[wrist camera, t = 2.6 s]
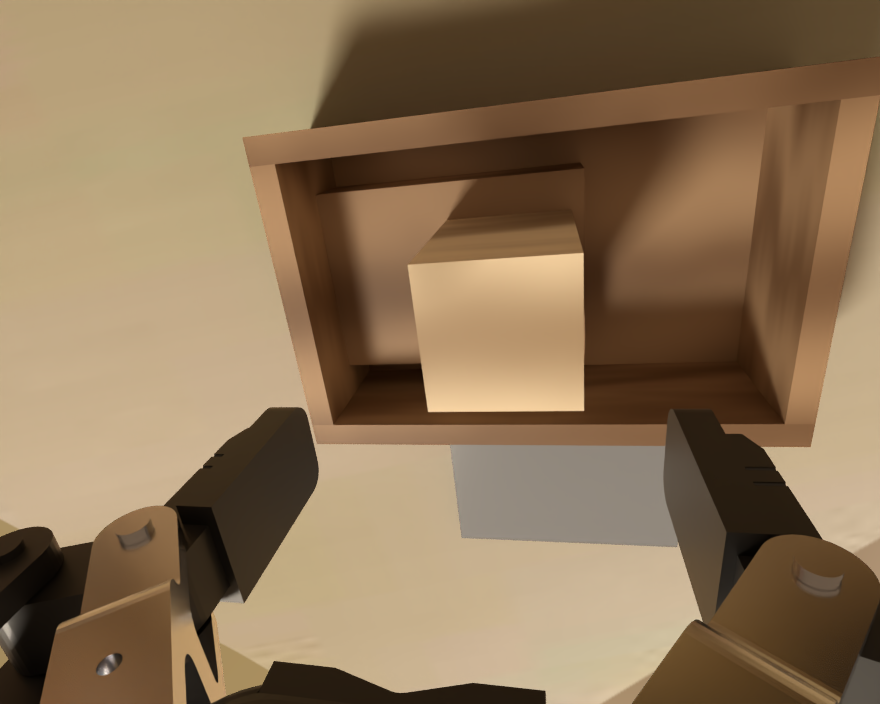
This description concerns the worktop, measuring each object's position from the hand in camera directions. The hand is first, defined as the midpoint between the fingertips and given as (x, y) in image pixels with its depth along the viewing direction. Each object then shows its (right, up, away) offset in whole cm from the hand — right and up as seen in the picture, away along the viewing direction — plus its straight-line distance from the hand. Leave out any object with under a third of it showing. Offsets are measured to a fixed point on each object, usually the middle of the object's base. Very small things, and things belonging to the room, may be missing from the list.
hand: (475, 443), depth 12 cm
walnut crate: (+4, +7, +13) cm, 15 cm away
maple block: (+2, +5, +10) cm, 12 cm away
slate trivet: (+6, -4, +18) cm, 19 cm away
